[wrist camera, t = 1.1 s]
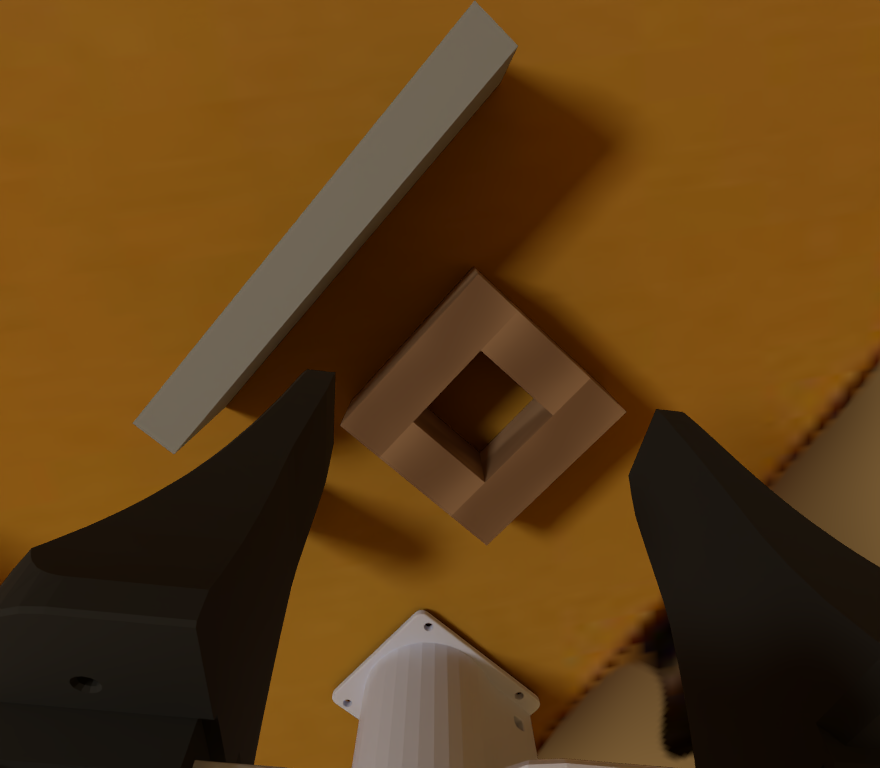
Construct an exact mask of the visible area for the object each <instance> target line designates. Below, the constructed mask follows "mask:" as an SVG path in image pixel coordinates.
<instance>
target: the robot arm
mask: <svg viewBox="0 0 880 768" xmlns="http://www.w3.org/2000/svg"><path fill="white" fill-rule="evenodd" d="M334 403H335V372H326V371H318V370H309V369H307V370H306V371H304V372H303V373H302V374H301V375H300V376H299V377H298V378H297V380H296V381H295V382H294V383H293V384H292V385H291V386H290V387H289V388H288V389H287V390H286V391H285V393H284V394H283V395H282V396H281V397H280V398H279V399H278V400H277V401H276V402H275V403H274V404H273V405H272V406H271V407H270V408H269V409H268V410H266V411H265V412H264V413H263V414H262V415H261V416H260V417H259V418H258V419H257V420H256V421H255V422H254V423H253V424H252V425H251V426H249V427H248V428H247V429H246V430H245V431H243V432H242V433H241V434H240V435H239V436H238V437H236V438H235V439H234V440H233V441H232V442H230V443H229V444H228V445H227V446H226V447H224V448H223V449H222V450H220V451H219V452H218V453H217V454H215V455H214V456H213V457H211V458H210V459H208V460H207V461H206V462H204V463H203V464H201V465H200V466H198V467H197V468H196V469H194V470H193V471H191V472H190V473H188V474H187V475H185V476H183V477H182V478H180V479H179V480H177V481H175V482H173V483H172V484H170V485H168V486H167V487H165V488H163V489H161V490H160V491H158V492H156V493H155V494H153V495H151V496H149V497H148V498H146V499H144V500H142V501H140V502H138V503H136V504H134V505H132V506H130V507H128V508H126V509H124V510H122V511H120V512H118V513H116V514H114V515H111V516H109V517H107V518H105V519H103V520H101V521H98V522H96V523H94V524H92V525H89V526H87V527H84V528H82V529H79V530H77V531H74V532H72V533H69V534H67V535H64V536H62V537H59V538H57V539H54V540H52V541H49V542H47V543H44V544H42V545H39V546H36V547H33V548H31V550H30V551H29V552H28V553H27V554H26V555H25V557H24V558H23V559H22V560H21V561H20V562H19V563H18V564H17V566H16V567H15V568H14V569H13V570H12V571H11V573H10V574H9V575H8V577H7V578H6V579H5V581H4V582H3V583H2V585H1V586H0V768H285V767H273V766H261V765H254V761H255V756H256V750H257V745H258V740H259V735H260V730H261V725H262V720H263V715H264V710H265V705H266V700H267V696H268V691H269V686H270V681H271V676H272V671H273V667H274V662H275V658H276V653H277V648H278V644H279V639H280V635H281V630H282V626H283V621H284V617H285V612H286V608H287V604H288V599H289V595H290V591H291V586H292V583H293V579H294V576H295V572H296V569H297V566H298V563H299V560H300V557H301V554H302V551H303V548H304V545H305V542H306V539H307V536H308V533H309V530H310V527H311V524H312V522H313V519H314V516H315V513H316V510H317V507H318V504H319V501H320V498H321V495H322V492H323V489H324V486H325V483H326V478H327V473H328V468H329V464H330V459H331V454H332V449H333V444H334ZM629 482H630V488H631V495H632V500H633V505H634V511H635V516H636V519H637V522H638V525H639V529H640V532H641V535H642V538H643V541H644V544H645V547H646V550H647V553H648V556H649V559H650V562H651V565H652V568H653V571H654V574H655V577H656V580H657V583H658V586H659V589H660V592H661V595H662V598H663V601H664V604H665V608H666V611H667V615H668V619H669V622H670V627H671V631H672V636H673V641H674V645H675V650H676V655H677V659H678V664H679V669H680V675H681V680H682V686H683V691H684V696H685V702H686V707H687V713H688V720H689V727H690V733H691V740H692V746H693V753H694V759H695V766H696V768H880V567H878V566H877V565H875V564H873V563H872V562H870V561H868V560H867V559H865V558H864V557H862V556H860V555H859V554H857V553H856V552H854V551H853V550H851V549H849V548H848V547H847V546H845V545H844V544H842V543H841V542H839V541H838V540H836V539H835V538H833V537H832V536H831V535H829V534H828V533H826V532H825V531H823V530H822V529H821V528H819V527H818V526H816V525H815V524H814V523H812V522H811V521H809V520H808V519H807V518H805V517H804V516H803V515H801V514H800V513H799V512H797V511H796V510H795V509H794V508H792V507H791V506H790V505H789V504H787V503H786V502H785V501H784V500H782V499H781V498H780V497H779V496H778V495H776V494H775V493H774V492H773V491H771V490H770V489H769V488H768V487H767V486H766V485H764V484H763V483H762V482H761V481H760V480H759V479H757V478H756V477H755V476H754V475H753V474H752V473H751V472H749V471H748V470H747V469H746V468H745V467H744V466H743V465H742V464H740V463H739V462H738V461H737V460H736V459H735V458H734V457H733V456H732V455H731V454H729V453H728V452H727V451H726V450H725V449H724V448H723V447H722V446H721V445H720V444H719V443H718V442H716V441H715V440H714V439H713V438H712V437H711V436H710V435H709V434H708V433H707V432H706V431H704V430H703V429H702V428H701V427H700V426H699V425H698V424H697V423H695V422H694V421H693V420H692V419H691V418H690V417H688V416H687V415H686V414H685V413H683V412H677V411H668V410H660V409H656V411H655V413H654V416H653V418H652V420H651V423H650V425H649V428H648V430H647V432H646V435H645V437H644V440H643V442H642V444H641V447H640V449H639V452H638V454H637V456H636V459H635V461H634V464H633V466H632V468H631V471H630V473H629ZM426 623H431V624H432V625H431V626H426V625H425V624H426ZM518 692H521V694H516V693H518ZM332 699H333V701H334V702H335V703H336V704H337V705H339V706H340V707H342V708H343V709H345V710H346V711H347V712H349V713H350V714H352V715H353V716H354V717H356V718H357V719H359V725H358V732H357V738H356V744H355V751H354V757H353V764H352V768H670V767H658V766H647V765H635V764H622V763H611V762H599V761H586V760H574V759H538V757H537V751H536V746H535V740H534V735H533V729H532V724H531V718H530V715H532V714H533V713H534V712H535V711H536V710H537V709H538V708H539V707H540V702H539V698H538V697H537V695H535V694H534V693H533V692H531V691H530V690H529V689H527V688H526V687H525V686H524V685H522V684H521V683H520V682H518V681H517V680H516V679H514V678H513V677H512V676H511V675H509V674H508V673H507V672H505V671H504V670H503V669H501V668H500V667H499V666H498V665H496V664H495V663H494V662H492V661H491V660H490V659H488V658H487V657H486V656H484V655H483V654H482V653H481V652H479V651H478V650H477V649H475V648H474V647H473V646H471V645H470V644H469V643H468V642H466V641H465V640H464V639H462V638H461V637H460V636H458V635H457V634H456V633H455V632H453V631H452V630H451V629H449V628H448V627H447V626H445V625H444V624H443V623H441V622H440V621H439V620H438V619H436V618H435V617H434V616H432V615H431V614H430V613H428V612H427V611H425V610H419V611H417V612H415V613H414V614H413V615H412V616H411V617H410V618H409V619H408V620H407V621H406V622H405V623H404V624H403V625H402V626H401V627H400V628H399V629H397V630H396V631H395V632H394V633H393V634H392V635H391V636H390V637H389V638H388V639H387V640H386V641H385V642H384V643H383V644H382V645H381V646H380V647H379V648H378V649H377V650H375V651H374V652H373V653H372V654H371V655H370V656H369V657H368V658H367V659H366V660H365V661H364V662H363V663H362V664H361V665H360V666H359V667H358V668H357V669H356V670H355V671H354V672H352V673H351V674H350V675H349V676H348V677H347V678H346V679H345V680H344V681H343V682H342V683H341V684H340V685H339V686H338V687H337V688H336V689H335V690H334V691H333V696H332ZM345 700H350V701H345Z"/></svg>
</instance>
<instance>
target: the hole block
mask: <svg viewBox="0 0 880 768" xmlns="http://www.w3.org/2000/svg"><path fill="white" fill-rule="evenodd" d="M480 351H482V352H483V353H484V354H485V355H486V356H488V357H489V358H490V359H491V360H492V361H493V362H494V363H495V364H496V365H498V366H499V367H500V368H501V369H502V370H503V371H504V372H505V373H506V374H508V375H509V376H510V377H511V378H512V379H513V380H514V381H515V382H516V383H518V384H519V385H520V386H521V387H522V388H523V389H524V390H525V391H526V392H528V393H529V394H530V395H531V396H532V397H533V398H534V399H533V400H532V401H531V402H530V403H529V404H528V405H527V406H526V407H525V408H524V409H523V410H522V411H521V412H520V413H519V414H518V415H517V416H516V417H515V418H514V419H513V420H512V421H511V422H510V423H509V424H508V425H507V426H506V427H505V428H504V429H503V430H502V431H501V432H500V433H499V434H498V435H497V436H496V437H495V438H494V439H493V440H492V441H491V442H490V443H489V444H488V445H487V446H486V447H485V448H484V449H483V450H482V451H481V452H480V453H479V452H478V451H477V450H476V449H475V448H473V447H472V446H471V445H470V444H469V443H468V442H466V441H465V440H464V439H463V438H462V437H461V436H459V435H458V434H457V433H456V432H455V431H454V430H452V429H451V428H450V427H449V426H448V425H447V424H445V423H444V422H443V421H442V420H441V419H439V418H438V417H437V416H436V415H435V414H434V413H432V412H431V411H430V410H429V409H428V408H427V407H428V406H429V405H430V404H431V402H432V401H433V400H434V399H435V398H436V397H437V396H438V395H439V394H440V393H441V392H442V391H443V390H444V389H445V388H446V387H447V386H448V385H449V383H450V382H451V381H452V380H453V379H454V378H455V377H456V376H457V375H458V374H459V373H460V372H461V371H462V370H463V369H464V368H465V367H466V366H467V364H468V363H469V362H470V361H471V360H472V359H473V358H474V357H475V356H476V355H477V354H478V353H479V352H480ZM625 413H626V411H625V410H624V409H623V408H622V407H621V406H620V404H619V403H618V402H617V401H616V400H615V399H614V398H613V397H612V396H611V395H610V394H609V393H608V392H607V391H606V390H605V389H604V388H603V387H602V386H601V385H600V384H599V383H598V382H597V381H596V380H595V379H594V378H593V377H592V376H591V375H589V374H588V373H587V372H586V371H585V370H584V369H583V368H582V367H581V366H580V365H579V364H578V363H577V362H576V361H574V360H573V359H572V358H571V357H570V356H569V355H568V354H567V353H566V352H565V351H564V350H563V349H562V348H561V347H559V346H558V345H557V344H556V343H555V342H554V341H553V340H552V339H551V338H550V337H549V336H548V335H547V334H546V333H544V332H543V331H542V330H541V329H540V328H539V327H538V326H537V325H536V324H535V323H534V322H533V321H532V320H531V319H529V318H528V317H527V316H526V315H525V314H524V313H523V312H522V311H521V310H520V309H519V308H518V307H517V306H516V305H514V304H513V303H512V302H511V301H510V300H509V299H508V298H507V297H506V296H505V295H504V294H503V293H502V292H501V291H499V290H498V289H497V288H496V287H495V286H494V285H493V284H492V283H491V282H490V281H489V280H488V279H487V278H486V277H484V276H483V275H482V274H481V273H480V272H479V271H478V270H477V269H476V268H475V267H474V266H473V268H472V269H471V270H470V271H469V272H468V273H467V274H466V275H465V276H464V278H463V279H462V280H461V281H460V282H459V283H458V284H457V285H456V286H455V287H454V289H453V290H452V291H451V292H450V293H449V294H448V295H447V296H446V297H445V298H444V300H443V301H442V302H441V303H440V304H439V305H438V306H437V307H436V308H435V309H434V311H433V312H432V313H431V314H430V315H429V316H428V317H427V318H426V319H425V320H424V322H423V323H422V324H421V325H420V326H419V327H418V328H417V329H416V330H415V332H414V333H413V334H412V335H411V336H410V337H409V338H408V339H407V340H406V341H405V343H404V344H403V345H402V346H401V347H400V348H399V349H398V350H397V351H396V352H395V354H394V355H393V356H392V357H391V358H390V359H389V360H388V361H387V362H386V363H385V365H384V366H383V367H382V368H381V369H380V370H379V371H378V372H377V373H376V374H375V376H374V377H373V378H372V379H371V380H370V381H369V382H368V383H367V384H366V386H365V387H364V388H363V389H362V390H361V391H360V392H359V393H358V394H357V395H356V397H355V398H354V399H353V400H352V401H351V403H350V405H349V407H348V409H347V411H346V414H345V416H344V418H343V420H342V422H341V424H340V426H341V427H342V428H344V429H345V430H346V431H347V432H349V433H350V434H351V435H352V436H354V437H355V438H356V439H357V440H358V441H360V442H361V443H362V444H363V445H365V446H366V447H367V448H368V449H369V450H371V451H372V452H373V453H374V454H376V455H377V456H378V457H379V458H380V459H382V460H383V461H384V462H385V463H387V464H388V465H389V466H390V467H391V468H393V469H394V470H395V471H396V472H398V473H399V474H400V475H401V476H402V477H404V478H405V479H406V480H407V481H409V482H410V483H411V484H412V485H414V486H415V487H416V488H417V489H418V490H420V491H421V492H422V493H423V494H425V495H426V496H427V497H428V498H429V499H431V500H432V501H433V502H434V503H436V504H437V505H438V506H439V507H440V508H442V509H443V510H444V511H445V512H447V513H448V514H449V515H450V516H451V517H453V518H454V519H455V520H456V521H458V522H459V523H460V524H461V525H463V526H464V527H465V528H466V529H467V530H469V531H470V532H471V533H472V534H474V535H475V536H476V537H477V538H478V539H480V540H481V541H482V542H483V543H485V544H486V545H488V544H489V543H490V542H491V541H492V540H493V539H494V538H495V537H496V536H497V535H498V534H499V533H500V532H501V531H502V530H503V529H504V528H505V527H507V526H508V525H509V524H510V523H511V522H512V521H513V520H514V519H515V518H516V517H517V516H518V515H519V514H520V513H521V512H522V511H523V510H524V509H525V508H526V507H527V506H529V505H530V504H531V503H532V502H533V501H534V500H535V499H536V498H537V497H538V496H539V495H540V494H541V493H542V492H543V491H544V490H545V489H546V488H547V487H548V486H549V485H550V484H552V483H553V482H554V481H555V480H556V479H557V478H558V477H559V476H560V475H561V474H562V473H563V472H564V471H565V470H566V469H567V468H568V467H569V466H570V465H571V464H572V463H574V462H575V461H576V460H577V459H578V458H579V457H580V456H581V455H582V454H583V453H584V452H585V451H586V450H587V449H588V448H589V447H590V446H591V445H592V444H593V443H594V442H596V441H597V440H598V439H599V438H600V437H601V436H602V435H603V434H604V433H605V432H606V431H607V430H608V429H609V428H610V427H611V426H612V425H613V424H614V423H615V422H616V421H618V420H619V419H620V418H621V417H622V416H623V415H624V414H625Z"/></svg>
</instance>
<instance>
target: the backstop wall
mask: <svg viewBox="0 0 880 768" xmlns="http://www.w3.org/2000/svg"><path fill="white" fill-rule="evenodd" d="M517 47H518V46H517V44H516V43H515V42H514V41H513V40H512V39H511V38H510V37H509V36H508V35H507V34H506V33H505V32H504V31H503V30H502V29H501V28H500V27H499V26H498V25H497V24H496V22H495V21H494V20H493V19H492V18H491V17H490V16H489V15H488V14H487V13H486V12H485V11H484V10H483V9H482V8H481V7H480V6H479V5H478V4H477V3H476V1H474V2H473V3H472V5H471V6H470V7H469V8H468V9H467V11H466V12H465V13H464V14H463V16H462V17H461V18H460V19H459V21H458V22H457V23H456V24H455V26H454V27H453V28H452V29H451V30H450V32H449V33H448V34H447V35H446V37H445V38H444V39H443V40H442V42H441V43H440V44H439V45H438V47H437V48H436V49H435V50H434V51H433V53H432V54H431V55H430V56H429V58H428V59H427V60H426V61H425V63H424V64H423V65H422V66H421V68H420V69H419V70H418V71H417V72H416V74H415V75H414V76H413V77H412V79H411V80H410V81H409V82H408V84H407V85H406V86H405V87H404V89H403V90H402V91H401V92H400V93H399V95H398V96H397V97H396V98H395V100H394V101H393V102H392V103H391V105H390V106H389V107H388V108H387V110H386V111H385V112H384V113H383V114H382V116H381V117H380V118H379V119H378V121H377V122H376V123H375V124H374V126H373V127H372V128H371V129H370V131H369V132H368V133H367V134H366V135H365V137H364V138H363V139H362V140H361V142H360V143H359V144H358V145H357V147H356V148H355V149H354V150H353V152H352V153H351V154H350V155H349V156H348V158H347V159H346V160H345V161H344V163H343V164H342V165H341V166H340V168H339V169H338V170H337V171H336V173H335V174H334V175H333V176H332V177H331V179H330V180H329V181H328V182H327V184H326V185H325V186H324V187H323V189H322V190H321V191H320V192H319V194H318V195H317V196H316V197H315V198H314V200H313V201H312V202H311V203H310V205H309V206H308V207H307V208H306V210H305V211H304V212H303V213H302V215H301V216H300V217H299V218H298V219H297V221H296V222H295V223H294V224H293V226H292V227H291V228H290V229H289V231H288V232H287V233H286V234H285V236H284V237H283V238H282V239H281V240H280V242H279V243H278V244H277V245H276V247H275V248H274V249H273V250H272V252H271V253H270V254H269V255H268V257H267V258H266V259H265V260H264V261H263V263H262V264H261V265H260V266H259V268H258V269H257V270H256V271H255V273H254V274H253V275H252V276H251V278H250V279H249V280H248V281H247V282H246V284H245V285H244V286H243V287H242V289H241V290H240V291H239V292H238V294H237V295H236V296H235V297H234V299H233V300H232V301H231V302H230V303H229V305H228V306H227V307H226V308H225V310H224V311H223V312H222V313H221V315H220V316H219V317H218V318H217V320H216V321H215V322H214V323H213V324H212V326H211V327H210V328H209V329H208V331H207V332H206V333H205V334H204V336H203V337H202V338H201V339H200V341H199V342H198V343H197V344H196V346H195V347H194V348H193V349H192V350H191V352H190V353H189V354H188V355H187V357H186V358H185V359H184V360H183V362H182V363H181V364H180V365H179V367H178V368H177V369H176V370H175V371H174V373H173V374H172V375H171V376H170V378H169V379H168V380H167V381H166V383H165V384H164V385H163V386H162V388H161V389H160V390H159V391H158V392H157V394H156V395H155V396H154V397H153V399H152V400H151V401H150V402H149V404H148V405H147V406H146V407H145V409H144V410H143V411H142V412H141V413H140V415H139V416H138V417H137V418H136V420H135V421H134V422H133V424H134V425H136V426H137V427H138V428H140V429H141V430H142V431H144V432H145V433H146V434H148V435H149V436H150V437H152V438H153V439H154V440H156V441H157V442H158V443H160V444H161V445H162V446H164V447H165V448H166V449H168V450H169V451H170V452H172V453H173V454H175V453H176V452H177V451H178V450H179V449H180V448H181V447H182V446H184V445H185V444H186V443H187V442H188V441H189V440H190V439H191V438H192V437H193V436H194V435H195V434H197V433H198V432H199V431H200V430H201V429H202V428H203V427H204V426H205V425H206V424H207V423H209V422H210V421H211V420H212V419H213V418H214V417H215V416H216V415H217V414H218V413H219V412H221V411H222V410H223V409H224V408H225V407H226V406H227V404H228V403H229V402H230V401H231V400H232V398H233V397H234V396H235V395H236V394H237V393H238V391H239V390H240V389H241V388H242V387H243V386H244V384H245V383H246V382H247V381H248V380H249V378H250V377H251V376H252V375H253V374H254V373H255V371H256V370H257V369H258V368H259V367H260V365H261V364H262V363H263V362H264V361H265V360H266V358H267V357H268V356H269V355H270V354H271V353H272V351H273V350H274V349H275V348H276V347H277V345H278V344H279V343H280V342H281V341H282V340H283V338H284V337H285V336H286V335H287V334H288V332H289V331H290V330H291V329H292V328H293V327H294V325H295V324H296V323H297V322H298V321H299V320H300V318H301V317H302V316H303V315H304V314H305V312H306V311H307V310H308V309H309V308H310V307H311V305H312V304H313V303H314V302H315V301H316V299H317V298H318V297H319V296H320V295H321V294H322V292H323V291H324V290H325V289H326V288H327V287H328V285H329V284H330V283H331V282H332V281H333V279H334V278H335V277H336V276H337V275H338V274H339V272H340V271H341V270H342V269H343V268H344V266H345V265H346V264H347V263H348V262H349V261H350V259H351V258H352V257H353V256H354V255H355V254H356V252H357V251H358V250H359V249H360V248H361V246H362V245H363V244H364V243H365V242H366V241H367V239H368V238H369V237H370V236H371V235H372V233H373V232H374V231H375V230H376V229H377V228H378V226H379V225H380V224H381V223H382V222H383V221H384V219H385V218H386V217H387V216H388V215H389V213H390V212H391V211H392V210H393V209H394V208H395V206H396V205H397V204H398V203H399V202H400V200H401V199H402V198H403V197H404V196H405V195H406V193H407V192H408V191H409V190H410V189H411V188H412V186H413V185H414V184H415V183H416V182H417V180H418V179H419V178H420V177H421V176H422V175H423V173H424V172H425V171H426V170H427V169H428V167H429V166H430V165H431V164H432V163H433V162H434V160H435V159H436V158H437V157H438V156H439V155H440V153H441V152H442V151H443V150H444V149H445V147H446V146H447V145H448V144H449V143H450V142H451V140H452V139H453V138H454V137H455V136H456V134H457V133H458V132H459V131H460V130H461V129H462V127H463V126H464V125H465V124H466V123H467V121H468V120H469V119H470V118H471V117H472V116H473V114H474V113H475V112H476V111H477V110H478V109H479V107H480V106H481V105H482V104H483V103H484V101H485V100H486V99H487V98H488V97H489V96H490V94H491V93H492V92H493V91H494V90H495V88H496V87H497V86H498V85H499V84H500V82H501V80H502V78H503V76H504V74H505V72H506V70H507V68H508V66H509V64H510V62H511V60H512V57H513V55H514V53H515V51H516V49H517Z"/></svg>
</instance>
